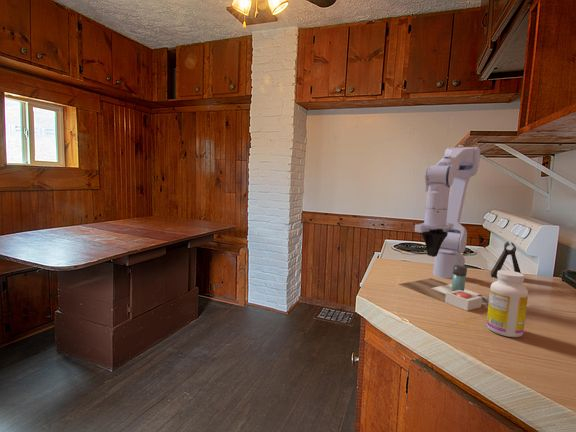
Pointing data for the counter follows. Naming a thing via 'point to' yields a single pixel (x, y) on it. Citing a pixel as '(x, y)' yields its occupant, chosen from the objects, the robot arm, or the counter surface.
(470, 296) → the button
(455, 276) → the marker
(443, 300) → the drawing board
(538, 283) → the counter surface
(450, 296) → the button housing
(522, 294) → the supplement bottle
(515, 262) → the black spring clamp
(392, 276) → the counter surface
